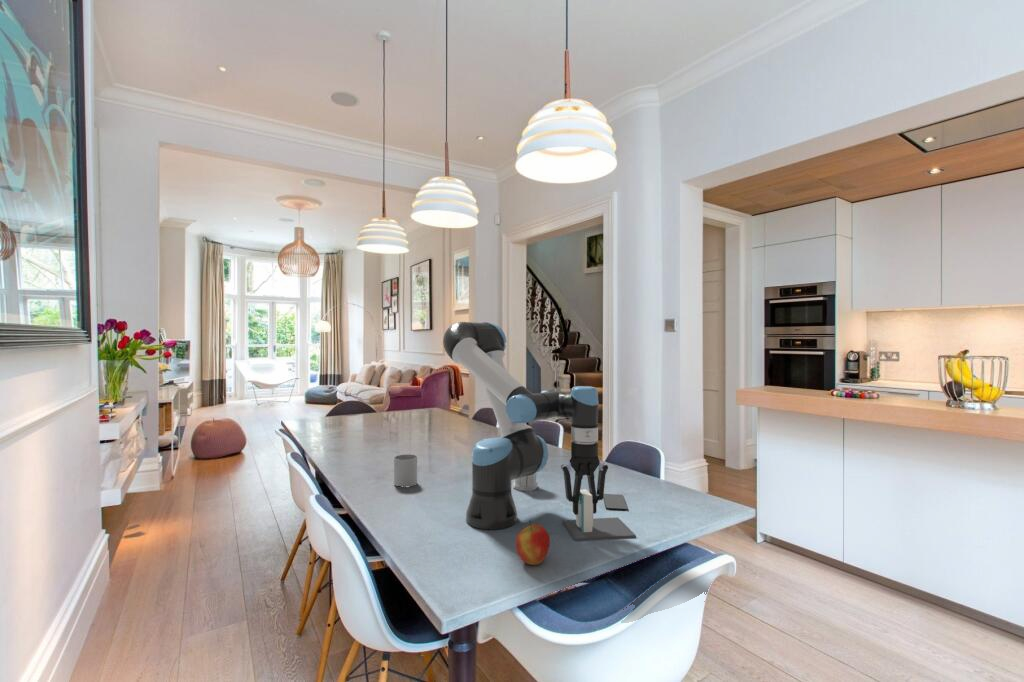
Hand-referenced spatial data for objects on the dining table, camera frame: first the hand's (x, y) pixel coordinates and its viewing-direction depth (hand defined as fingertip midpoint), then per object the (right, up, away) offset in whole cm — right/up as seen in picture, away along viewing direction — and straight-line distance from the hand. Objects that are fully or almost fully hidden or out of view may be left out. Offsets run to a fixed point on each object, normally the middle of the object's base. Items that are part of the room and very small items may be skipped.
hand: (584, 524), depth 132 cm
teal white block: (0, -1, 0) cm, 1 cm away
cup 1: (-60, -1, +42) cm, 73 cm away
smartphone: (+14, -2, +23) cm, 27 cm away
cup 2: (-16, -2, +39) cm, 42 cm away
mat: (+4, -2, +1) cm, 4 cm away
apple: (-15, -2, -19) cm, 25 cm away
